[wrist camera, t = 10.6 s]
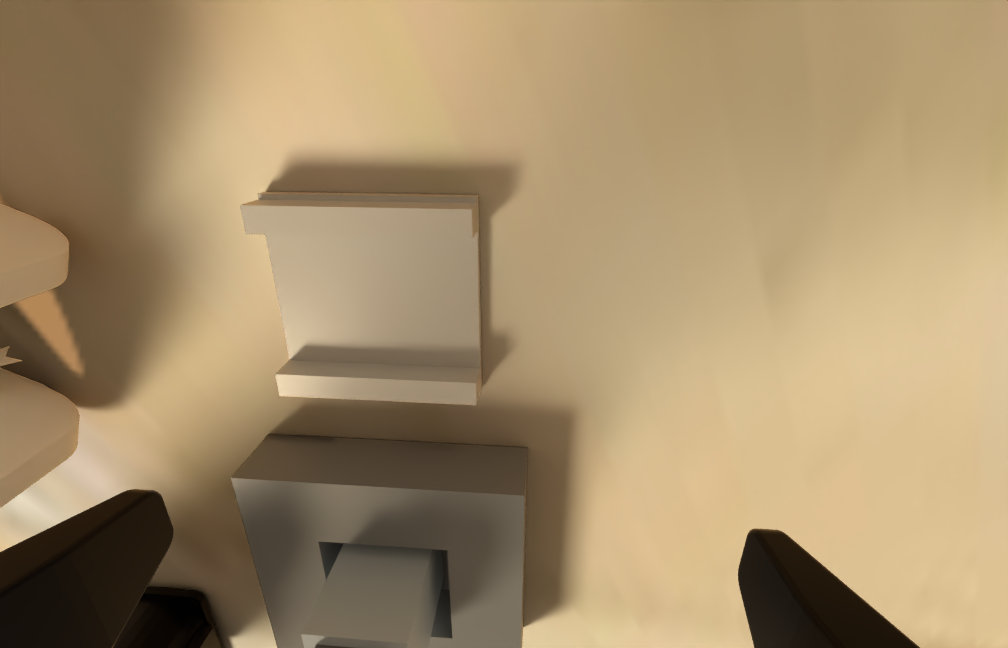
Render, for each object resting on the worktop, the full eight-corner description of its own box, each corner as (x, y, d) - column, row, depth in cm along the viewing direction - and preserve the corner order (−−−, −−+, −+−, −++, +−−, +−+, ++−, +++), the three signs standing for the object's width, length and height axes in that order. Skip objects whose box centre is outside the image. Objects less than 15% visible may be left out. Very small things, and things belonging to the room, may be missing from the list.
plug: (366, 572, 25) (293, 759, 18) (357, 513, 24) (273, 692, 17) (443, 578, 25) (400, 771, 18) (440, 518, 24) (391, 703, 16)
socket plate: (309, 613, 28) (283, 668, 25) (268, 433, 23) (230, 478, 20) (522, 630, 27) (519, 689, 24) (527, 447, 22) (524, 495, 19)
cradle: (299, 379, 22) (280, 400, 20) (264, 191, 18) (238, 199, 17) (481, 387, 21) (476, 409, 20) (478, 194, 18) (471, 203, 16)
